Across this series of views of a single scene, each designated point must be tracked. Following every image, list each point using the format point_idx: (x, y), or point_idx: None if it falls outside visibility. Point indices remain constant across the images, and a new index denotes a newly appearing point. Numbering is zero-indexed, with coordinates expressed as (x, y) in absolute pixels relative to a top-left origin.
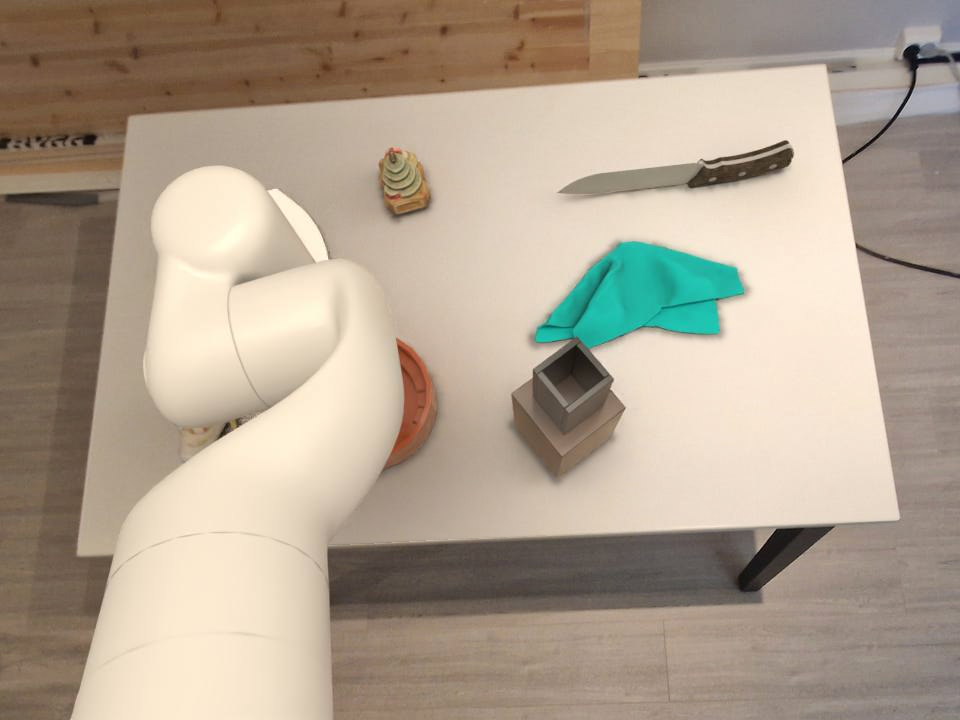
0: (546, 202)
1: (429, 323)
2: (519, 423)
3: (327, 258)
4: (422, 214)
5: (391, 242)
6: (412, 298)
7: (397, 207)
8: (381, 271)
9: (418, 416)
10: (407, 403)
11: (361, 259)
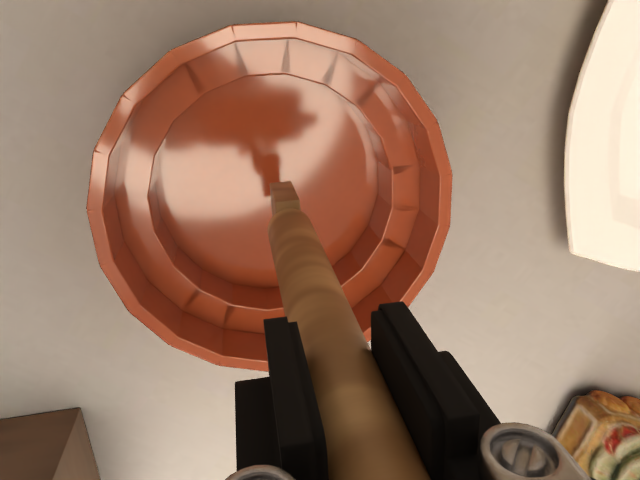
0: None
1: None
2: (33, 471)
3: (609, 263)
4: (542, 427)
5: (540, 363)
6: None
7: (589, 421)
8: (509, 325)
9: (176, 282)
10: (234, 254)
11: (554, 304)
